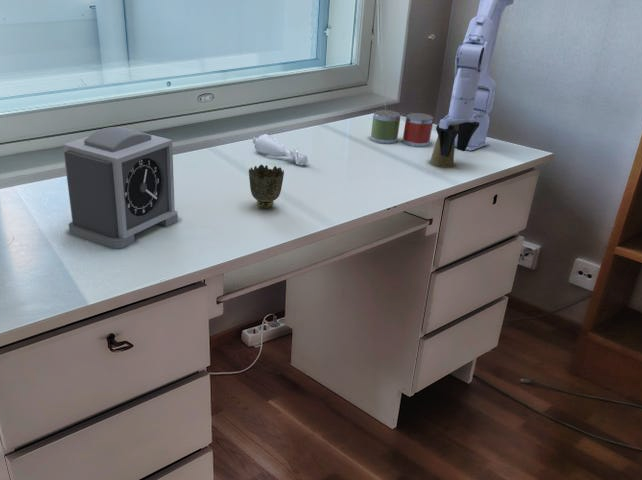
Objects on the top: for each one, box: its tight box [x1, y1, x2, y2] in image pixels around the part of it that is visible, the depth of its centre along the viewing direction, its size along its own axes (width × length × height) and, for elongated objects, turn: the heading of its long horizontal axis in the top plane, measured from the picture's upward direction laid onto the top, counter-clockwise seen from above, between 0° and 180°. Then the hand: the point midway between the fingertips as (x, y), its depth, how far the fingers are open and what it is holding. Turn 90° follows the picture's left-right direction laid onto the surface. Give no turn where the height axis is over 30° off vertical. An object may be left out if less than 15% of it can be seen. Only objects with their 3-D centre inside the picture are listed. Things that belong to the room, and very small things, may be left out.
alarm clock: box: [62, 126, 179, 250], centre depth 130 cm, size 18×13×18 cm
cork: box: [429, 121, 459, 168], centre depth 175 cm, size 6×6×11 cm
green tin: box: [370, 109, 401, 144], centre depth 192 cm, size 8×8×7 cm
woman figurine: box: [252, 133, 309, 166], centre depth 175 cm, size 12×4×18 cm
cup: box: [248, 164, 285, 210], centre depth 145 cm, size 8×7×8 cm
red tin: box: [402, 112, 434, 148], centre depth 191 cm, size 8×8×7 cm
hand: (452, 152), depth 174 cm, fingers open, 7 cm apart
